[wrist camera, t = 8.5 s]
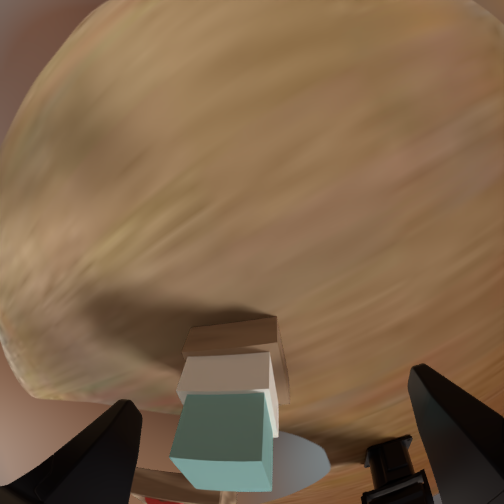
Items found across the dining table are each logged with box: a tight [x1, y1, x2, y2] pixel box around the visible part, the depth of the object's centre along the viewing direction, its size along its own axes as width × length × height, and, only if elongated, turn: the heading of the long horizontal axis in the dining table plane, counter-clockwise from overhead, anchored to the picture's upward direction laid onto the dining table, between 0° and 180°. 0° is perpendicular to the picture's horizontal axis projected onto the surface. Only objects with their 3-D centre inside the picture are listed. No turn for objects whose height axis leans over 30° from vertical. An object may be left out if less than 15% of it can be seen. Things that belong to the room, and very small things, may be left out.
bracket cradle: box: [130, 467, 238, 504], centre depth 33 cm, size 9×16×6 cm, turn 102°
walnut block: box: [181, 316, 290, 405], centre depth 22 cm, size 7×7×4 cm
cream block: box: [176, 352, 279, 438], centre depth 19 cm, size 6×6×4 cm
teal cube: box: [169, 393, 273, 492], centre depth 15 cm, size 5×5×5 cm
